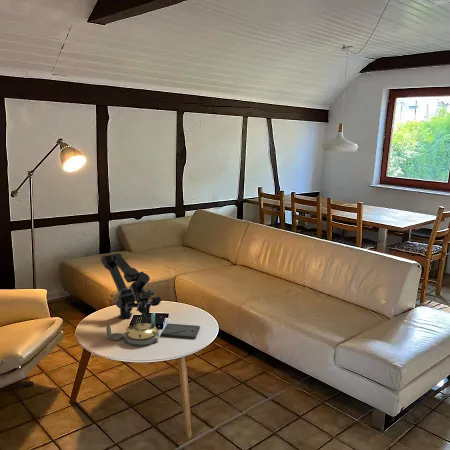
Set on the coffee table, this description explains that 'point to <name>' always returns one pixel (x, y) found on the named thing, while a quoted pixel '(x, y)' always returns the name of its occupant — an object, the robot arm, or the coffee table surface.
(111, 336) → the pocket watch
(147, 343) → the dark grey round disc
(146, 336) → the tan round piece
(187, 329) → the picture frame
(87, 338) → the coffee table surface
